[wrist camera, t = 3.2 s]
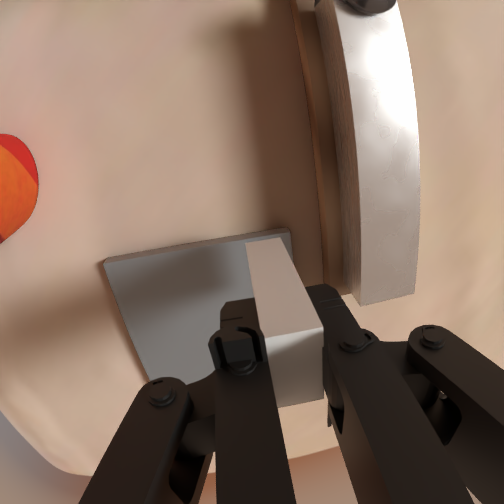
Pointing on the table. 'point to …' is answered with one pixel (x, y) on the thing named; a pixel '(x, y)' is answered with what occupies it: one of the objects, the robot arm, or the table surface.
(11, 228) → the coffee cup
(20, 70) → the table surface
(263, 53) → the table surface
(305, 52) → the base
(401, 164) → the bar
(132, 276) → the slate pad
